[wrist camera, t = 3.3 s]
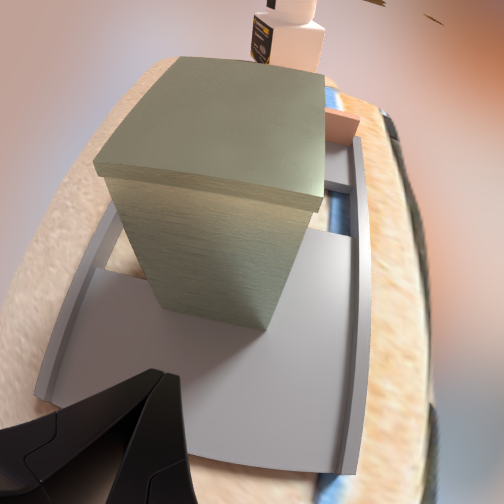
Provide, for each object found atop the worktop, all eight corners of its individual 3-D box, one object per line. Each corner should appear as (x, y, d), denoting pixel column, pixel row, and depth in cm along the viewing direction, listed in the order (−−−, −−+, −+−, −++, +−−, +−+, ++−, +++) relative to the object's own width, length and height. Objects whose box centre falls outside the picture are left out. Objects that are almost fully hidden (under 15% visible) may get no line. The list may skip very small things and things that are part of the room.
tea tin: (267, 333, 17) (323, 197, 7) (159, 309, 17) (92, 161, 7) (284, 228, 20) (324, 75, 11) (193, 210, 21) (180, 56, 11)
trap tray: (343, 470, 13) (373, 480, 10) (48, 399, 14) (11, 388, 11) (354, 151, 27) (367, 118, 24) (173, 120, 28) (170, 85, 24)
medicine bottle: (249, 55, 37) (256, -20, 27) (295, 55, 39) (307, -15, 29) (266, 76, 34) (277, -11, 24) (316, 75, 36) (334, -4, 25)
